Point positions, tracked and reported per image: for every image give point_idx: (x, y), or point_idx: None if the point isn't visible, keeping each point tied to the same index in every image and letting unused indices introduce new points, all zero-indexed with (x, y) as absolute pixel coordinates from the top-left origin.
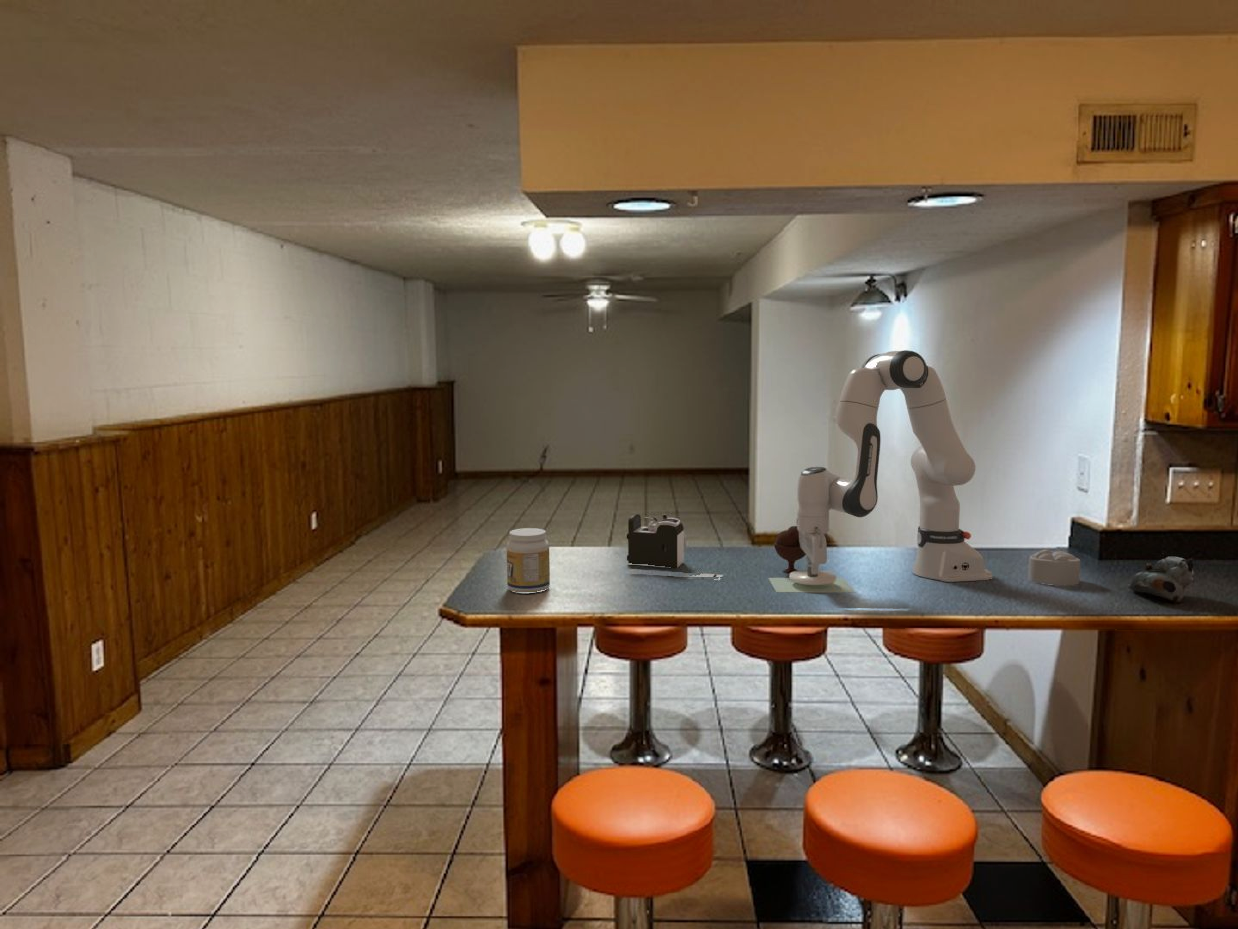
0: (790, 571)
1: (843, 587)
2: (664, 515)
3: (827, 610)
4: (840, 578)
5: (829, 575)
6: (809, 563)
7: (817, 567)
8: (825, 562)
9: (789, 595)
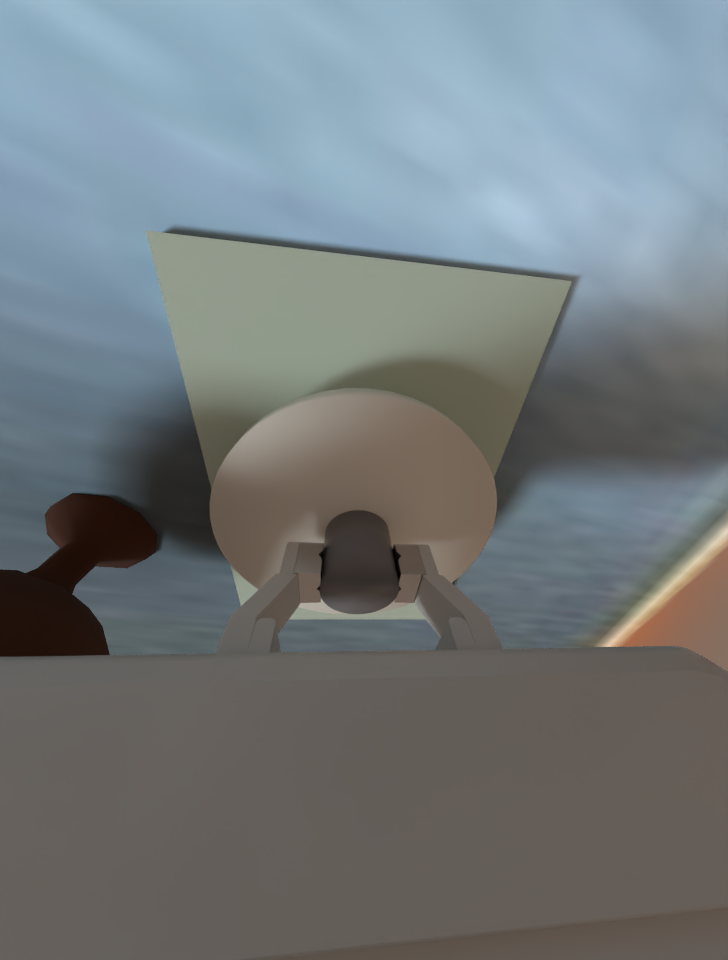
0: (123, 552)
1: (433, 338)
2: None
3: (689, 514)
4: (171, 266)
5: (367, 441)
6: (297, 597)
7: (446, 585)
8: (709, 664)
9: (460, 584)
